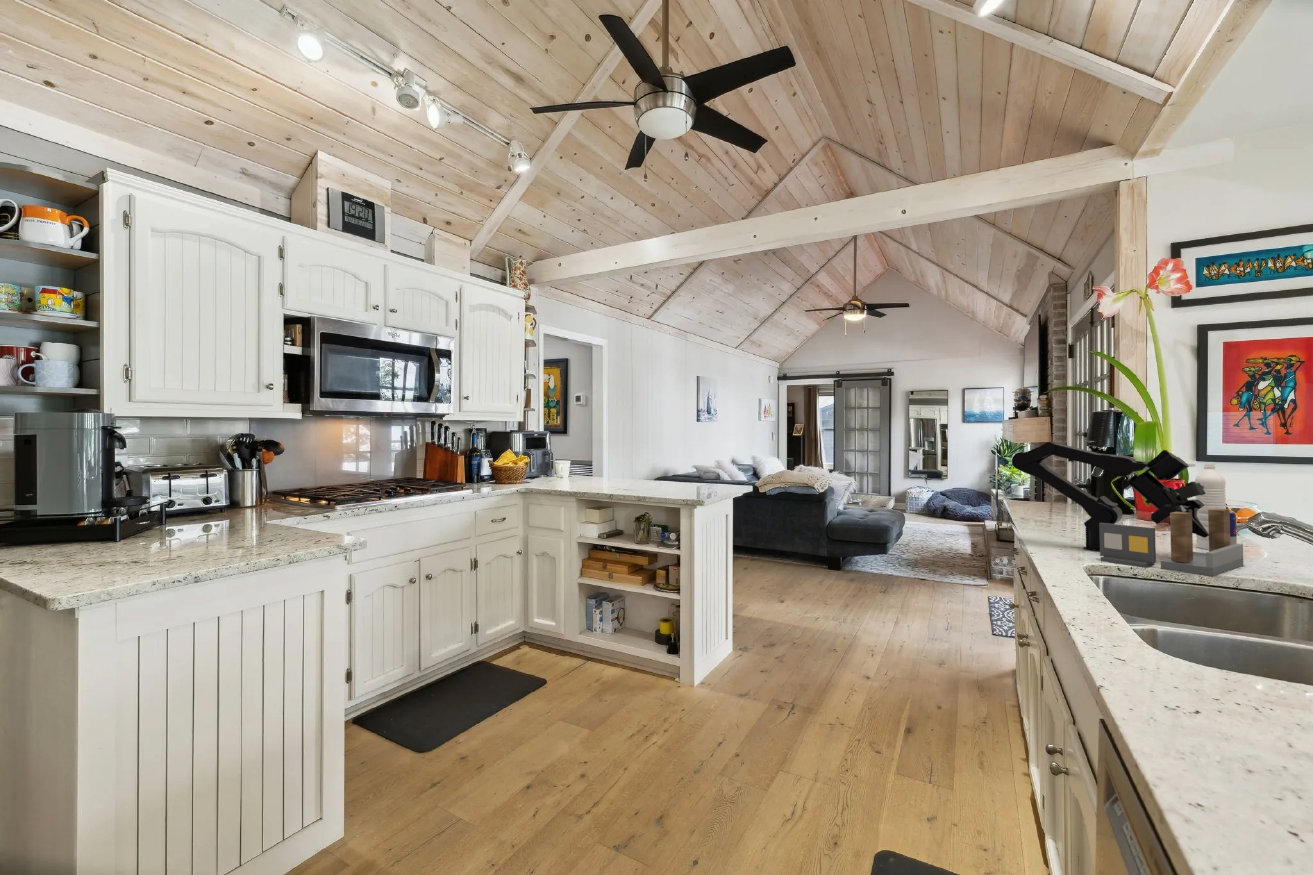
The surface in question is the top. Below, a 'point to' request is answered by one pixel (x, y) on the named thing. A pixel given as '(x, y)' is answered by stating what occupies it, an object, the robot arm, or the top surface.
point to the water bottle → (1209, 497)
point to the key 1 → (1181, 536)
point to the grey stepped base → (1209, 561)
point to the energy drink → (1233, 528)
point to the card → (1127, 545)
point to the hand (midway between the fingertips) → (1207, 536)
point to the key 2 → (1219, 528)
